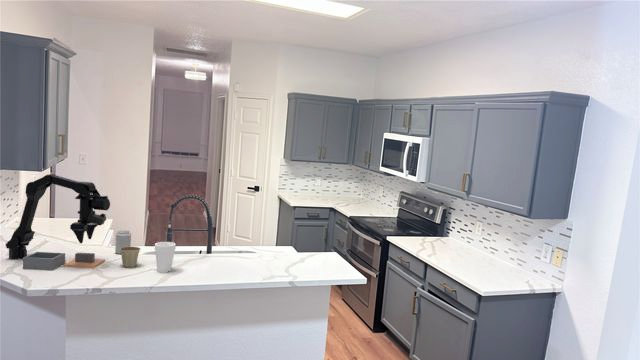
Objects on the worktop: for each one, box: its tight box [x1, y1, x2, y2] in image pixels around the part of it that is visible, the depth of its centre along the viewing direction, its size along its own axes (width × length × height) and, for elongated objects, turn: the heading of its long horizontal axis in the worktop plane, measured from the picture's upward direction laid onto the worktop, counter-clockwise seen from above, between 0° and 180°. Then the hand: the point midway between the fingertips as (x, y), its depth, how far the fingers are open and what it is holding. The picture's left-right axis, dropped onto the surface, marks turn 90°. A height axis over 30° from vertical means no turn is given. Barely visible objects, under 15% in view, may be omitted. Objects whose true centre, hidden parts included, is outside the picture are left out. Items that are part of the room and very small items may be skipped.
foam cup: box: [154, 241, 176, 273], centre depth 216 cm, size 10×9×13 cm
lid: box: [62, 252, 106, 269], centre depth 216 cm, size 14×12×6 cm
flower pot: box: [120, 246, 141, 268], centre depth 220 cm, size 9×9×9 cm
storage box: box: [22, 251, 66, 271], centre depth 208 cm, size 13×11×6 cm
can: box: [114, 229, 132, 255], centre depth 243 cm, size 8×8×12 cm
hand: (85, 241), depth 216 cm, fingers open, 9 cm apart
